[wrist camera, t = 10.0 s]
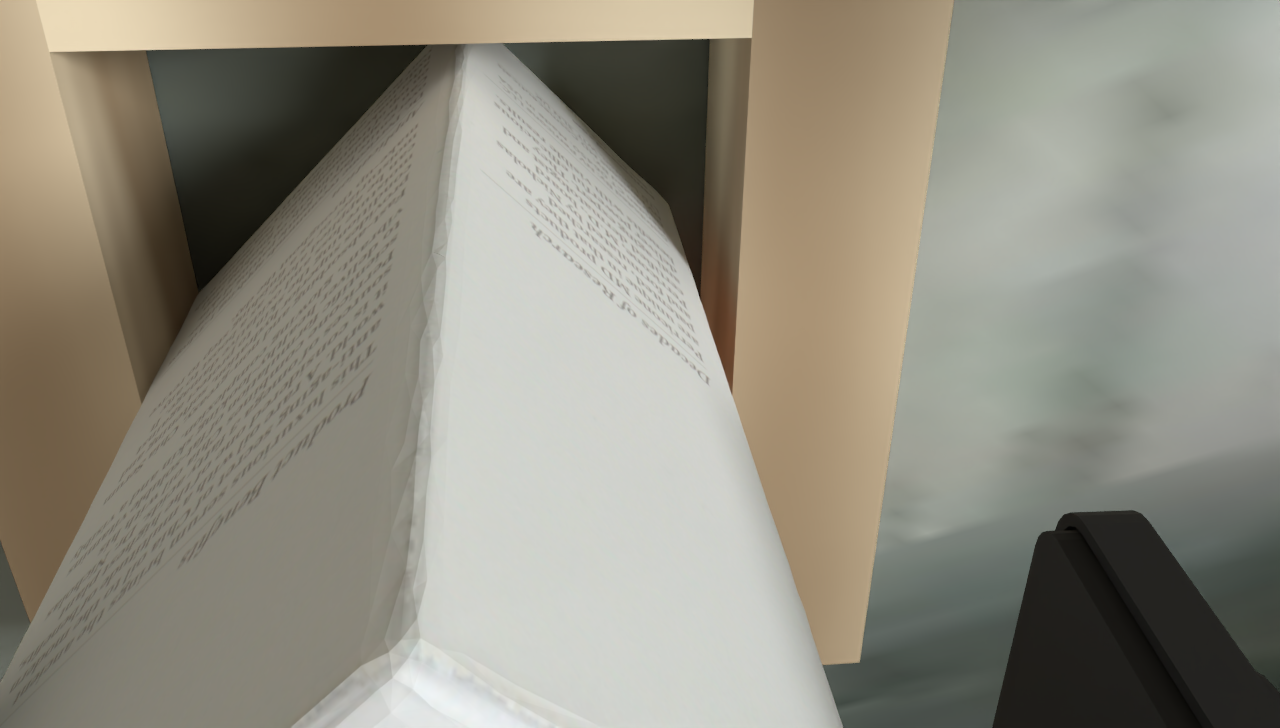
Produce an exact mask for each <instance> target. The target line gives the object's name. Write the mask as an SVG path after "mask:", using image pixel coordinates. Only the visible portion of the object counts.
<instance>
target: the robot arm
mask: <svg viewBox="0 0 1280 728" xmlns="http://www.w3.org/2000/svg"><path fill="white" fill-rule="evenodd" d="M992 728H1280V693H1279V692H1278V691H1277V689H1276V688H1275V687H1274V686H1273V685H1272V684H1271V683H1270V682H1269V681H1268V680H1267V679H1266V678H1265V676H1263V675H1261V674H1260V673H1258V672H1256V671H1255V670H1254V668H1253V667H1252V666H1251V664H1250V663H1249V661H1248V660H1247V659H1246V657H1245V656H1244V654H1243V653H1242V652H1241V650H1240V649H1239V647H1238V646H1237V645H1236V643H1235V642H1234V640H1233V639H1232V638H1231V636H1230V635H1229V633H1228V632H1227V630H1226V629H1225V628H1224V626H1223V625H1222V623H1221V622H1220V621H1219V619H1218V618H1217V616H1216V615H1215V614H1214V612H1213V611H1212V609H1211V608H1210V607H1209V605H1208V604H1207V602H1206V601H1205V600H1204V598H1203V597H1202V595H1201V594H1200V593H1199V591H1198V590H1197V588H1196V587H1195V586H1194V584H1193V583H1192V581H1191V580H1190V579H1189V577H1188V576H1187V574H1186V573H1185V572H1184V570H1183V569H1182V567H1181V566H1180V565H1179V563H1178V562H1177V560H1176V559H1175V558H1174V556H1173V555H1172V553H1171V552H1170V551H1169V549H1168V548H1167V546H1166V545H1165V544H1164V542H1163V541H1162V539H1161V538H1160V536H1159V535H1158V534H1157V532H1156V531H1155V529H1154V528H1153V527H1152V525H1151V524H1150V522H1149V521H1148V520H1147V519H1146V518H1145V517H1144V516H1143V515H1142V514H1141V513H1138V512H1136V511H1133V510H1131V511H1104V512H1077V513H1068V514H1064V515H1063V516H1062V518H1061V519H1060V520H1059V521H1058V524H1057V527H1056V530H1055V531H1046V532H1042V533H1041V535H1040V536H1039V537H1038V540H1037V542H1036V545H1035V549H1034V554H1033V558H1032V562H1031V566H1030V570H1029V575H1028V579H1027V583H1026V587H1025V592H1024V596H1023V600H1022V604H1021V609H1020V613H1019V617H1018V621H1017V626H1016V630H1015V634H1014V638H1013V643H1012V647H1011V651H1010V655H1009V659H1008V664H1007V668H1006V672H1005V676H1004V681H1003V685H1002V689H1001V693H1000V698H999V702H998V706H997V710H996V715H995V719H994V723H993V727H992Z"/></svg>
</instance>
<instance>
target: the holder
mask: <svg viewBox="0 0 1280 728" xmlns="http://www.w3.org/2000/svg"><path fill="white" fill-rule="evenodd" d="M953 5H954V0H0V541H1V544H2V547H3V549H4V552H5V555H6V558H7V560H8V563H9V566H10V569H11V571H12V574H13V577H14V580H15V582H16V585H17V588H18V591H19V593H20V596H21V599H22V602H23V604H24V607H25V610H26V612H27V615H28V618H29V621H30V623H31V622H32V620H33V618H34V617H35V615H36V613H37V611H38V609H39V607H40V605H41V603H42V601H43V599H44V597H45V595H46V593H47V591H48V589H49V587H50V585H51V583H52V581H53V579H54V577H55V575H56V573H57V571H58V569H59V567H60V565H61V563H62V561H63V559H64V557H65V555H66V553H67V552H68V550H69V548H70V546H71V544H72V542H73V540H74V538H75V536H76V534H77V532H78V530H79V529H80V527H81V525H82V523H83V521H84V519H85V517H86V515H87V513H88V510H89V508H90V506H91V504H92V502H93V500H94V498H95V496H96V494H97V492H98V490H99V488H100V487H101V485H102V483H103V481H104V479H105V477H106V475H107V473H108V471H109V469H110V467H111V465H112V463H113V461H114V459H115V457H116V454H117V452H118V450H119V448H120V446H121V444H122V442H123V440H124V438H125V436H126V434H127V432H128V430H129V428H130V426H131V424H132V422H133V420H134V418H135V417H136V415H137V413H138V411H139V409H140V407H141V405H142V403H143V401H144V399H145V397H146V395H147V393H148V391H149V389H150V386H151V384H152V382H153V380H154V378H155V377H156V375H157V373H158V371H159V369H160V367H161V365H162V363H163V361H164V360H165V358H166V356H167V354H168V352H169V350H170V347H171V346H172V344H173V342H174V340H175V339H176V337H177V335H178V333H179V331H180V329H181V327H182V325H183V323H184V321H185V319H186V317H187V315H188V313H189V311H190V309H191V306H192V304H193V302H194V300H195V299H196V297H197V295H198V294H199V292H198V288H197V283H196V278H195V274H194V269H193V265H192V260H191V256H190V251H189V246H188V242H187V237H186V233H185V228H184V223H183V219H182V214H181V210H180V205H179V201H178V196H177V191H176V187H175V182H174V178H173V173H172V168H171V164H170V159H169V155H168V150H167V145H166V141H165V136H164V132H163V127H162V123H161V118H160V113H159V109H158V104H157V100H156V95H155V90H154V86H153V81H152V77H151V72H150V68H149V63H148V58H147V54H146V50H176V49H225V48H275V47H325V46H375V45H424V44H474V43H524V42H574V41H624V40H673V39H710V48H709V75H708V103H707V131H706V159H705V187H704V215H703V243H702V271H701V299H700V300H701V303H702V306H703V309H704V312H705V315H706V317H707V321H708V324H709V328H710V331H711V334H712V336H713V339H714V342H715V345H716V348H717V351H718V354H719V357H720V360H721V363H722V366H723V369H724V372H725V375H726V379H727V382H728V385H729V388H730V391H731V394H732V396H733V399H734V402H735V405H736V408H737V411H738V414H739V417H740V421H741V424H742V427H743V430H744V433H745V436H746V439H747V442H748V445H749V448H750V451H751V454H752V457H753V460H754V463H755V466H756V469H757V472H758V475H759V478H760V481H761V484H762V487H763V490H764V493H765V496H766V500H767V503H768V506H769V509H770V511H771V514H772V517H773V520H774V522H775V525H776V528H777V531H778V534H779V537H780V540H781V543H782V546H783V549H784V552H785V554H786V557H787V560H788V563H789V566H790V569H791V572H792V576H793V579H794V582H795V585H796V589H797V592H798V594H799V597H800V599H801V602H802V604H803V607H804V609H805V612H806V616H807V619H808V623H809V626H810V629H811V633H812V636H813V639H814V642H815V645H816V648H817V651H818V654H819V657H820V660H821V663H822V665H830V664H845V663H860V656H861V649H862V642H863V635H864V628H865V621H866V614H867V607H868V600H869V593H870V586H871V579H872V572H873V565H874V558H875V551H876V544H877V537H878V530H879V523H880V516H881V509H882V502H883V495H884V488H885V481H886V474H887V467H888V460H889V453H890V446H891V439H892V432H893V425H894V418H895V411H896V404H897V397H898V390H899V383H900V376H901V369H902V362H903V355H904V348H905V341H906V334H907V327H908V320H909V313H910V306H911V299H912V292H913V285H914V278H915V271H916V264H917V257H918V250H919V243H920V236H921V229H922V222H923V215H924V208H925V201H926V194H927V187H928V180H929V173H930V166H931V159H932V152H933V145H934V138H935V131H936V124H937V117H938V110H939V103H940V96H941V89H942V82H943V75H944V68H945V61H946V54H947V47H948V40H949V33H950V26H951V19H952V12H953Z"/></svg>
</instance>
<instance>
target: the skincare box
mask: <svg viewBox="0 0 1280 728" xmlns="http://www.w3.org/2000/svg"><path fill="white" fill-rule="evenodd" d="M0 728H843V725H842V722H841V719H840V716H839V713H838V710H837V707H836V704H835V701H834V698H833V695H832V692H831V689H830V686H829V683H828V680H827V677H826V675H825V672H824V669H823V666H822V663H821V660H820V657H819V654H818V651H817V648H816V645H815V642H814V639H813V636H812V633H811V629H810V626H809V623H808V619H807V616H806V612H805V609H804V607H803V604H802V602H801V599H800V597H799V594H798V592H797V589H796V585H795V582H794V579H793V576H792V572H791V569H790V566H789V563H788V560H787V557H786V554H785V552H784V549H783V546H782V543H781V540H780V537H779V534H778V531H777V528H776V525H775V522H774V520H773V517H772V514H771V511H770V509H769V506H768V503H767V500H766V496H765V493H764V490H763V487H762V484H761V481H760V478H759V475H758V472H757V469H756V466H755V463H754V460H753V457H752V454H751V451H750V448H749V445H748V442H747V439H746V436H745V433H744V430H743V427H742V424H741V421H740V417H739V414H738V411H737V408H736V405H735V402H734V399H733V396H732V394H731V391H730V388H729V385H728V382H727V379H726V375H725V372H724V369H723V366H722V363H721V360H720V357H719V354H718V351H717V348H716V345H715V342H714V339H713V336H712V334H711V331H710V328H709V324H708V321H707V317H706V315H705V312H704V309H703V306H702V303H701V300H700V297H699V294H698V291H697V288H696V284H695V281H694V278H693V275H692V273H691V270H690V267H689V264H688V261H687V258H686V255H685V252H684V249H683V246H682V243H681V240H680V237H679V234H678V231H677V227H676V224H675V221H674V218H673V215H672V213H671V210H670V207H669V205H668V203H667V202H666V201H665V200H664V199H663V198H662V197H661V195H660V194H659V193H658V192H657V191H656V190H655V189H654V188H653V187H652V186H651V185H650V184H648V183H647V182H646V181H645V180H644V179H643V178H642V177H641V176H639V175H638V174H637V173H636V172H635V171H634V170H633V169H632V168H631V167H629V166H628V165H627V164H626V163H625V162H624V161H623V160H622V159H621V158H620V157H619V156H618V155H617V154H616V153H615V152H614V151H613V150H612V149H611V148H610V147H609V146H608V145H607V144H606V143H605V142H604V141H603V140H602V139H601V138H600V137H599V136H598V135H597V134H596V133H594V132H593V131H592V130H591V129H590V128H589V127H588V126H587V125H586V124H585V123H584V122H583V121H582V120H581V119H580V118H579V117H578V116H577V115H576V114H575V113H574V112H573V111H572V110H571V109H570V108H569V107H568V106H567V105H566V104H565V103H564V102H563V101H562V100H561V99H560V98H559V97H558V96H556V95H555V94H554V93H553V92H552V91H551V90H550V89H549V88H548V87H547V86H546V85H545V84H544V83H543V82H542V81H541V80H540V79H539V78H538V77H537V76H536V75H535V74H534V73H533V72H531V71H530V70H529V69H528V68H527V67H526V66H525V65H524V64H523V63H522V62H521V61H520V60H519V59H518V58H517V57H516V56H515V55H514V54H513V53H512V52H511V51H510V50H509V49H508V48H507V47H506V46H505V45H504V44H503V43H474V44H428V45H427V46H426V47H425V48H424V49H423V51H422V52H421V53H420V54H419V55H418V56H417V57H416V58H415V59H414V60H413V61H412V62H411V63H410V65H409V66H408V67H407V68H406V69H405V70H404V71H403V72H402V73H401V74H400V75H399V76H398V77H397V79H396V80H395V81H394V82H393V83H392V84H391V85H390V86H389V87H388V88H387V89H386V91H385V92H384V93H383V94H382V95H381V96H380V97H379V98H378V99H377V100H376V102H375V103H374V104H373V105H372V106H371V107H370V108H369V109H368V110H367V111H366V112H365V114H364V115H363V116H362V117H361V118H360V119H359V120H358V121H357V122H356V123H355V125H354V126H353V127H352V128H351V129H350V130H349V131H348V132H347V133H346V134H345V135H344V136H343V137H342V138H341V139H340V141H339V142H338V143H337V144H336V145H335V146H334V147H333V148H332V149H331V150H330V151H329V152H328V153H327V154H326V156H325V157H324V158H323V159H322V160H321V161H320V162H319V163H318V164H317V165H316V166H315V167H314V169H313V170H312V171H311V172H310V173H309V174H308V175H307V176H306V177H305V178H304V179H303V181H302V182H301V183H300V184H299V185H298V186H297V187H296V188H295V189H294V190H293V191H292V192H291V194H290V195H289V196H288V197H287V198H286V199H285V200H284V201H283V202H282V203H281V204H280V206H279V207H278V208H277V209H276V210H275V211H274V212H273V213H272V214H271V215H270V217H269V218H268V219H267V220H266V221H265V222H264V223H263V224H262V225H261V226H260V228H259V229H258V230H257V231H256V232H255V233H254V234H253V235H252V236H251V237H250V238H249V240H248V241H247V242H246V243H245V244H244V245H243V246H242V247H241V248H240V249H239V250H238V251H237V253H236V254H235V255H234V256H233V257H232V258H231V259H230V260H229V261H228V262H227V264H226V265H225V266H224V267H223V268H222V269H221V270H220V271H219V272H218V273H217V275H216V276H215V277H214V278H213V279H212V280H211V281H210V282H209V283H208V284H207V285H206V286H205V287H204V288H203V289H202V290H201V292H200V293H199V294H198V295H197V297H196V299H195V300H194V302H193V304H192V306H191V309H190V311H189V313H188V315H187V317H186V319H185V321H184V323H183V325H182V327H181V329H180V331H179V333H178V335H177V337H176V339H175V340H174V342H173V344H172V346H171V347H170V350H169V352H168V354H167V356H166V358H165V360H164V361H163V363H162V365H161V367H160V369H159V371H158V373H157V375H156V377H155V378H154V380H153V382H152V384H151V386H150V389H149V391H148V393H147V395H146V397H145V399H144V401H143V403H142V405H141V407H140V409H139V411H138V413H137V415H136V417H135V418H134V420H133V422H132V424H131V426H130V428H129V430H128V432H127V434H126V436H125V438H124V440H123V442H122V444H121V446H120V448H119V450H118V452H117V454H116V457H115V459H114V461H113V463H112V465H111V467H110V469H109V471H108V473H107V475H106V477H105V479H104V481H103V483H102V485H101V487H100V488H99V490H98V492H97V494H96V496H95V498H94V500H93V502H92V504H91V506H90V508H89V510H88V513H87V515H86V517H85V519H84V521H83V523H82V525H81V527H80V529H79V530H78V532H77V534H76V536H75V538H74V540H73V542H72V544H71V546H70V548H69V550H68V552H67V553H66V555H65V557H64V559H63V561H62V563H61V565H60V567H59V569H58V571H57V573H56V575H55V577H54V579H53V581H52V583H51V585H50V587H49V589H48V591H47V593H46V595H45V597H44V599H43V601H42V603H41V605H40V607H39V609H38V611H37V613H36V615H35V617H34V618H33V620H32V622H31V624H30V626H29V628H28V630H27V631H26V633H25V635H24V637H23V639H22V641H21V643H20V645H19V646H18V648H17V650H16V652H15V654H14V656H13V659H12V661H11V663H10V665H9V667H8V669H7V671H6V673H5V675H4V677H3V679H2V681H1V682H0Z"/></svg>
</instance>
